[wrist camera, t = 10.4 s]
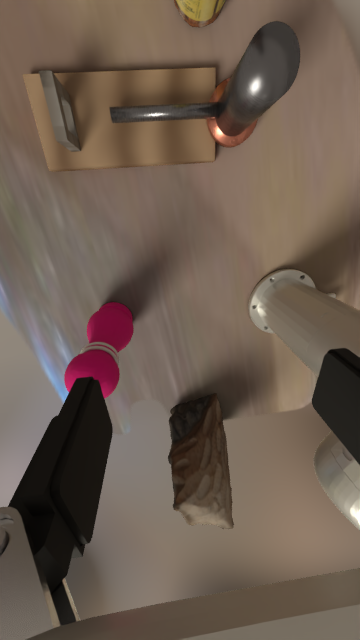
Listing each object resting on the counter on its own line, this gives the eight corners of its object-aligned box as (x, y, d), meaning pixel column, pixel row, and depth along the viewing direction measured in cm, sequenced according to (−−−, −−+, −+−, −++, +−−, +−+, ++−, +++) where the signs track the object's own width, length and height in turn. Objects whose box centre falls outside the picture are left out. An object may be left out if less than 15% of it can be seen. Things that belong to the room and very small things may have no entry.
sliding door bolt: (257, 80, 27) (318, 2, 17) (253, 146, 30) (302, 112, 20) (108, 86, 26) (78, 7, 16) (119, 153, 29) (99, 122, 19)
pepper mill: (95, 334, 41) (49, 428, 23) (93, 297, 38) (37, 374, 20) (135, 335, 42) (119, 427, 24) (135, 300, 39) (118, 375, 21)
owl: (218, 429, 56) (246, 530, 39) (168, 435, 56) (174, 541, 38) (218, 392, 51) (252, 491, 33) (164, 399, 50) (168, 503, 32)
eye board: (213, 73, 27) (227, 38, 22) (212, 162, 31) (225, 151, 26) (27, 79, 26) (-7, 44, 20) (52, 171, 30) (29, 162, 24)
